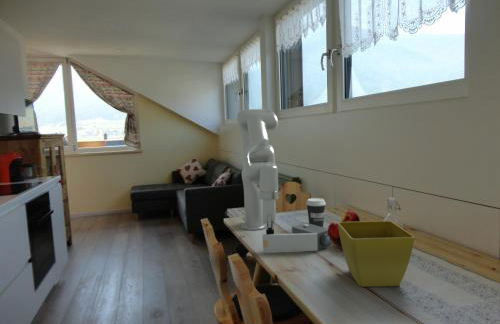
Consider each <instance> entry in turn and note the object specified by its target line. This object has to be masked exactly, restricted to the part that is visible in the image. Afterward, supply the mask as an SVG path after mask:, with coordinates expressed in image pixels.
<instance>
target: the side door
mask: <svg viewBox="0 0 500 324" xmlns="http://www.w3.org/2000/svg"><path fill="white" fill-rule="evenodd" d="M317 251H319V250H318V249H317V233H305V234H292V233H274V234H265V233H264V234H262V252H263V253H272V252H273V253H274V252H275V253H278V252H279V253H280V252H282V253H284V252H317Z"/></svg>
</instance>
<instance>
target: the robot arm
mask: <svg viewBox="0 0 500 324" xmlns="http://www.w3.org/2000/svg"><path fill="white" fill-rule="evenodd" d="M236 122H237V126H238V129H239V132H240V134H241V139H242V153H243V156H242V166H243V169H241V179H242V184H243V197H244V199H243V201H244V204H243V205H244V217H242V218H241V220H242V221H243V222H244V223H242V225H241V227H242V228H243V229H245V230H247V231H248V230H249V231H259V230H263V229H265V233H266V234H275V228H274V225H275V223H276V213H277V211H276V209H277V208H276V207H277V205H276V203H277V200H278V199H279V169H278V166H277V165H276V155H275V154H276V153H275V149H274V146H273V145H271V144H269V143H270V142H269V141H270V140H269V135H268V131H269V132H273V131H276V130H277V129H278V127H279V120H278V116H277V114H276V113H275V112H274V111H273V110H271V109H268V108H259V109H257V108H256V109H255V108H253V109H252V108H251V109H250V108H249V109H248V108H247V109H242V110H240V111H237V116H236ZM258 185H259V186H258Z"/></svg>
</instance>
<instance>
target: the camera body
mask: <svg viewBox="0 0 500 324" xmlns="http://www.w3.org/2000/svg"><path fill="white" fill-rule="evenodd" d="M328 229H329V228H327V227H324V226H323V227H320V226H316V225H312V224H309V222H304V223H301V224H297V225H293V226H291V234H305V233H317V249H318V251H319V250H323V249H325V248H327V247H330V246H331V245H332V239H331V240H330V236H329V235H328Z"/></svg>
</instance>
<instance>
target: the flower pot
mask: <svg viewBox="0 0 500 324" xmlns="http://www.w3.org/2000/svg"><path fill="white" fill-rule="evenodd" d="M337 229H338V234H339V239H340V244H341V248H342V252H343V255H344V259H345V263H346V265H347V268H348V270H349V272H350V274H351V276H352V278H353V279H354V280H355V283H356V284H357V285H358V286H359V287H362V288H363V287H399V286H400V285H401V282H402V281H403V279H404V277H405V273H406V271H407V270H408V266H409V263H410V260H411V256H412V252H413V247H414V242H415V236H414V235H413V234H412V233H410V232H408V231H407V230H405V229H404V228H402V227H401V226H399V225H398V224H396V222H393V220H375V221H373V220H372V221H371V220H370V221H369V220H366V221H339V222H337Z"/></svg>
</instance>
